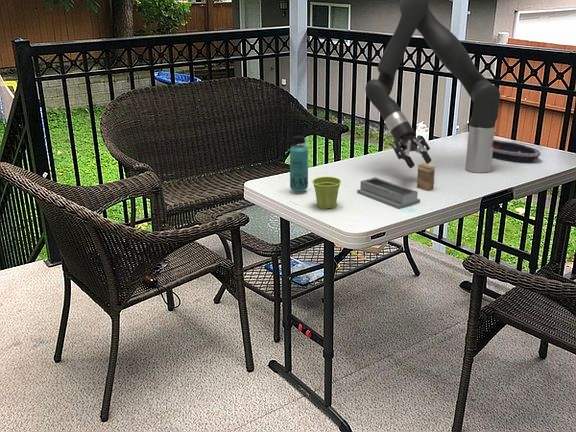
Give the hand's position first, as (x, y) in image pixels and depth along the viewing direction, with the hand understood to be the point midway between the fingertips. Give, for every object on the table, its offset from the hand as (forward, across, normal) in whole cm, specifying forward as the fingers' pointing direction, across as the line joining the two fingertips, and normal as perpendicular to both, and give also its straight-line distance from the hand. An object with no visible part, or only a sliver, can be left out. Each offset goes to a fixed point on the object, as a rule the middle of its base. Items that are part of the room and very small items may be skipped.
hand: (421, 164), depth 210 cm
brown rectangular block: (+8, 0, +4) cm, 9 cm away
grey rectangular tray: (+6, -17, +5) cm, 19 cm away
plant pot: (+2, -38, +10) cm, 40 cm away
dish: (+2, +56, +10) cm, 57 cm away
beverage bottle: (-10, -37, +22) cm, 44 cm away
